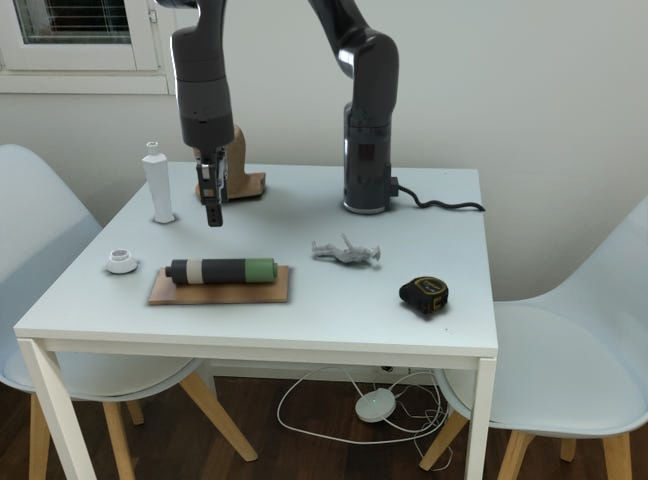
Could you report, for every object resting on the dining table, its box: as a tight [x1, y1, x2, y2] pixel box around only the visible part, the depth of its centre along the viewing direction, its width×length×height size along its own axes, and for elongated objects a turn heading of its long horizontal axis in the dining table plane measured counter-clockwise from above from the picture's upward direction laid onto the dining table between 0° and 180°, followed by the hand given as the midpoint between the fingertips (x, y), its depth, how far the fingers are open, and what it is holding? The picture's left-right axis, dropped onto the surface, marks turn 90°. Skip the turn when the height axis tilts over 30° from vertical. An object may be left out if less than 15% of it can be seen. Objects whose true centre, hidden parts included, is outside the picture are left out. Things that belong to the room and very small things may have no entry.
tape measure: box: [398, 275, 450, 316], centre depth 111 cm, size 7×7×4 cm
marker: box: [164, 257, 279, 284], centre depth 116 cm, size 18×4×4 cm, turn 92°
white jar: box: [106, 248, 138, 274], centre depth 121 cm, size 5×3×5 cm
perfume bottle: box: [141, 141, 176, 224], centre depth 134 cm, size 5×4×15 cm
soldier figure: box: [311, 232, 382, 264], centre depth 123 cm, size 8×5×12 cm
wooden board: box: [148, 265, 290, 306], centre depth 117 cm, size 22×11×1 cm, turn 92°
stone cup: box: [192, 122, 267, 200], centre depth 143 cm, size 15×12×15 cm
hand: (219, 214), depth 110 cm, fingers open, 8 cm apart
